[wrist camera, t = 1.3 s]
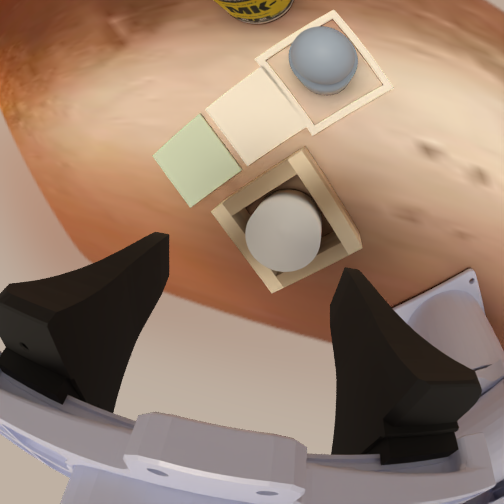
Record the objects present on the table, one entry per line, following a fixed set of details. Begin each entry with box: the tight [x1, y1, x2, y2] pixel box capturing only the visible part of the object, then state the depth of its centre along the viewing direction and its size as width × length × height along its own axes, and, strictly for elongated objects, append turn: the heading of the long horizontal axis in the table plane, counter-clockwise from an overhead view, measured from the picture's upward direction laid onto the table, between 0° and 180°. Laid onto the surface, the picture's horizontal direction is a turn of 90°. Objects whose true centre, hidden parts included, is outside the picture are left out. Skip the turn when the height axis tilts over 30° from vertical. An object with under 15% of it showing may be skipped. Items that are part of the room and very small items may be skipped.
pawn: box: [289, 26, 358, 95], centre depth 13 cm, size 3×3×7 cm
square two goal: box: [153, 114, 242, 208], centre depth 21 cm, size 5×5×1 cm
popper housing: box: [211, 146, 362, 293], centre depth 20 cm, size 7×7×3 cm
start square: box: [255, 10, 394, 136], centre depth 16 cm, size 6×6×1 cm
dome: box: [245, 189, 322, 272], centre depth 19 cm, size 4×4×3 cm
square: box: [205, 65, 309, 166], centre depth 19 cm, size 5×5×1 cm
